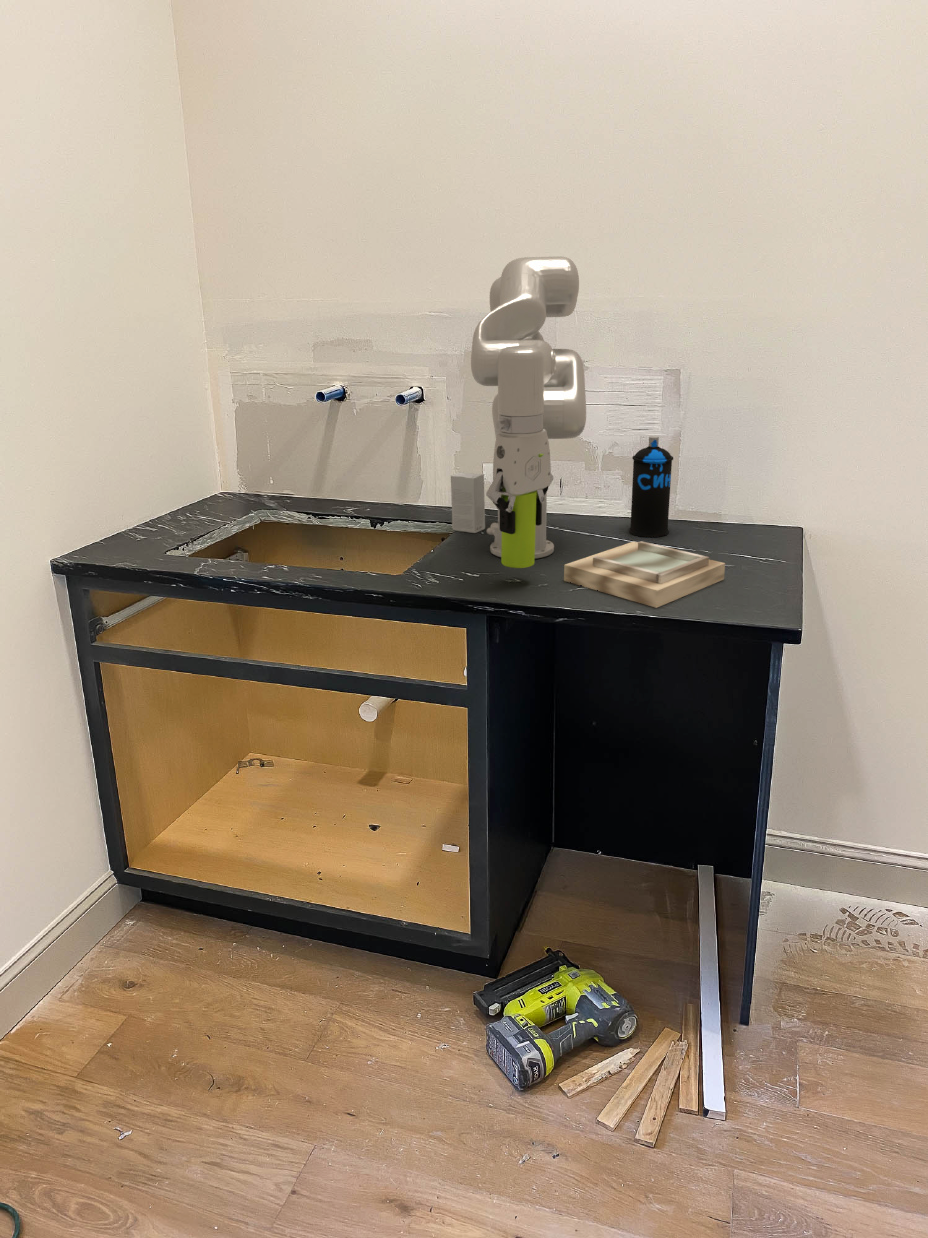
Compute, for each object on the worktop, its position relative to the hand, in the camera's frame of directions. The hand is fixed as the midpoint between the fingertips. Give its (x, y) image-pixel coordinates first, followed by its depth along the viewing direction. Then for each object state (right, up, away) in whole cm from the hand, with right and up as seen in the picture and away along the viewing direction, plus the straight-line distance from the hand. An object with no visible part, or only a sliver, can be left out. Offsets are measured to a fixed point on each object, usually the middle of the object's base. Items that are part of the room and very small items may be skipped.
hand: (520, 527), depth 156 cm
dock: (+22, -9, +4) cm, 24 cm away
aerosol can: (+29, +2, +33) cm, 44 cm away
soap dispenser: (0, -6, +3) cm, 7 cm away
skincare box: (-9, +3, +38) cm, 39 cm away
